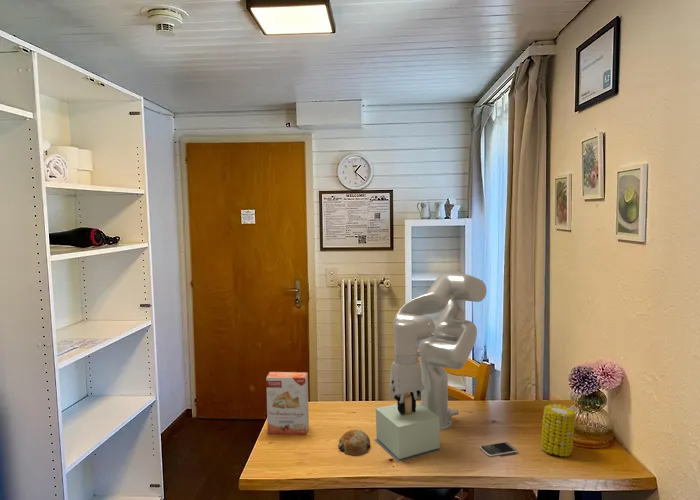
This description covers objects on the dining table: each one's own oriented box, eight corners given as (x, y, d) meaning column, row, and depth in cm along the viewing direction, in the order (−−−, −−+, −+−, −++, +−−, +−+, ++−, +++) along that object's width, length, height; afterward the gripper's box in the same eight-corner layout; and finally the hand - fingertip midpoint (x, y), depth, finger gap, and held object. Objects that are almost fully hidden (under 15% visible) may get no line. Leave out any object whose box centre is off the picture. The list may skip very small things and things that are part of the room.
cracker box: (267, 434, 167) (265, 376, 165) (271, 426, 173) (269, 371, 171) (306, 435, 166) (305, 377, 164) (309, 427, 172) (307, 371, 170)
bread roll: (361, 468, 151) (371, 447, 150) (333, 452, 152) (343, 431, 151) (366, 452, 161) (376, 433, 159) (339, 438, 162) (349, 418, 161)
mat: (414, 431, 168) (414, 429, 168) (440, 451, 153) (440, 450, 153) (373, 440, 161) (373, 439, 161) (397, 463, 147) (397, 462, 147)
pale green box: (414, 428, 168) (413, 384, 166) (439, 447, 154) (439, 400, 152) (376, 437, 161) (375, 392, 160) (399, 459, 148) (398, 409, 146)
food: (535, 452, 155) (559, 448, 158) (561, 461, 144) (587, 457, 147) (530, 404, 157) (554, 401, 160) (556, 409, 146) (581, 406, 149)
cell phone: (478, 450, 155) (478, 446, 154) (508, 445, 157) (508, 441, 157) (489, 460, 149) (489, 455, 148) (519, 454, 152) (519, 450, 151)
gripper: (421, 350, 162) (421, 402, 163) (378, 358, 155) (379, 412, 157) (433, 357, 155) (434, 411, 157) (389, 365, 148) (390, 421, 150)
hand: (406, 411), depth 157 cm, fingers closed on pale green box, 3 cm apart
